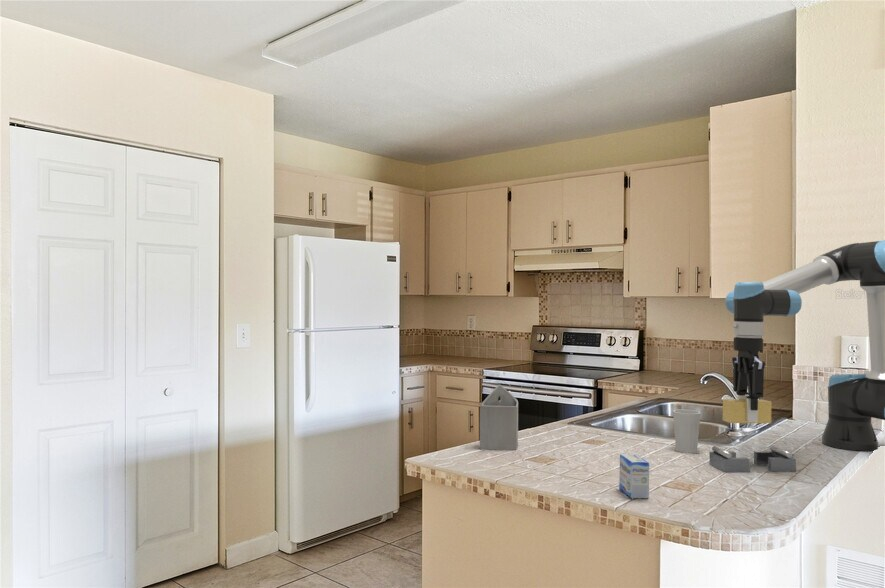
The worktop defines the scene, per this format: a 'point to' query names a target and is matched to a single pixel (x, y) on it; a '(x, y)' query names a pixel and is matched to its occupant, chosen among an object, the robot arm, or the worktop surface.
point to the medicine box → (634, 476)
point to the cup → (686, 430)
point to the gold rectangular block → (745, 411)
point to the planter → (499, 421)
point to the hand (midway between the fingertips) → (747, 419)
